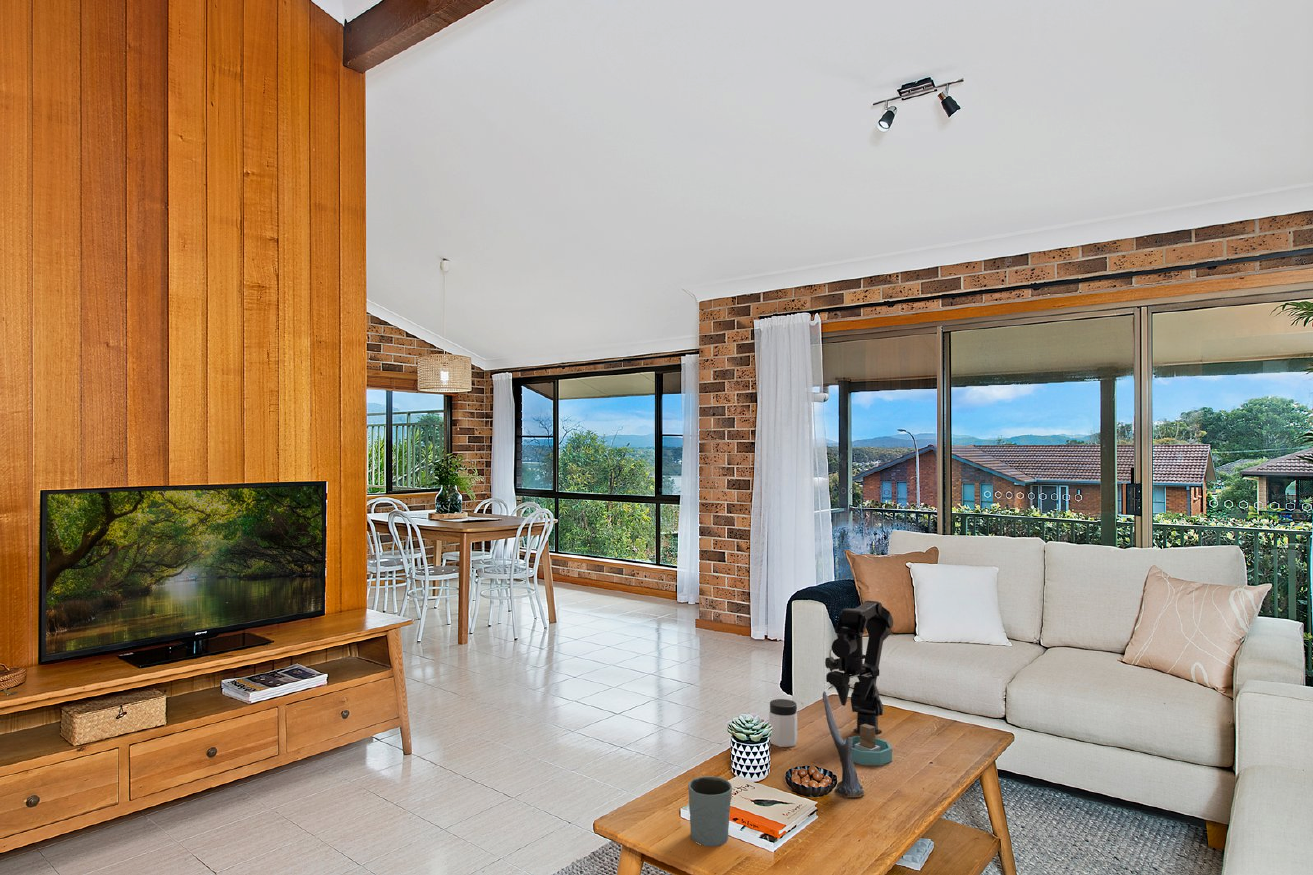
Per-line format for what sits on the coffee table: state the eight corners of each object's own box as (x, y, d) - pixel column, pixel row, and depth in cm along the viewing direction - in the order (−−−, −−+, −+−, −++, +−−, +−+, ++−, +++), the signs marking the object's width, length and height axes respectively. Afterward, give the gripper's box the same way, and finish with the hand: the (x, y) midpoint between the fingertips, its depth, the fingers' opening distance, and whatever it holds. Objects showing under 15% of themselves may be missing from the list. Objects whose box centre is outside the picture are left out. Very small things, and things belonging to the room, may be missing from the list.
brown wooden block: (865, 751, 231) (864, 723, 231) (875, 754, 228) (875, 727, 229) (860, 753, 230) (859, 725, 230) (870, 756, 227) (870, 728, 227)
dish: (863, 745, 238) (863, 733, 238) (900, 758, 228) (899, 745, 228) (835, 755, 230) (835, 742, 230) (871, 768, 220) (871, 755, 220)
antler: (869, 793, 204) (868, 696, 205) (854, 802, 198) (853, 703, 199) (829, 780, 212) (829, 687, 213) (814, 789, 206) (814, 693, 207)
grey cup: (705, 823, 187) (705, 772, 187) (741, 836, 181) (740, 783, 181) (679, 839, 179) (679, 786, 180) (715, 853, 173) (715, 798, 173)
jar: (803, 743, 240) (803, 703, 240) (785, 749, 235) (785, 709, 235) (781, 735, 247) (781, 696, 247) (763, 741, 242) (763, 702, 242)
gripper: (851, 642, 252) (851, 691, 252) (812, 650, 241) (812, 701, 240) (880, 648, 243) (880, 699, 243) (841, 657, 232) (841, 711, 231)
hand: (853, 702), depth 240 cm, fingers open, 9 cm apart
